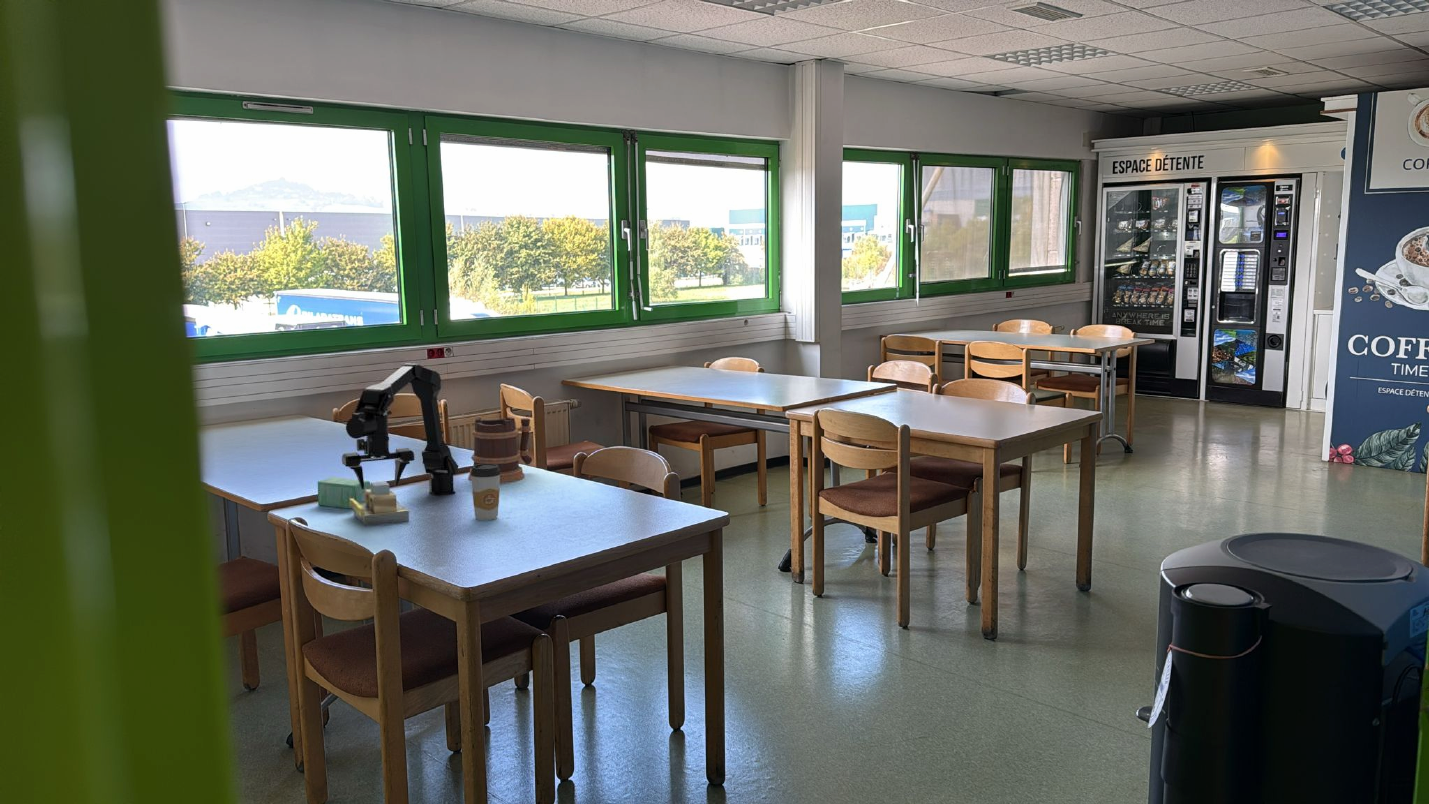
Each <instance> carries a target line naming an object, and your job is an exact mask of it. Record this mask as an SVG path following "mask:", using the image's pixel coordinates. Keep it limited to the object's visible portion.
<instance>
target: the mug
mask: <svg viewBox="0 0 1429 804" xmlns="http://www.w3.org/2000/svg"><path fill="white" fill-rule="evenodd" d="M474 420H475V421H474V430H472V432H471V433H472V436H473V437H474V443H473V445H474V446H473V447H474V448H473V454H471V460H472V461H473V466H474V465H477V464H497V465H498V466H499V469H500V473H501V474H500V482H499V484H506V483H507V484H508V483H514V482H517V481H521V480H523V479H525V474H524V472H523V471H524V469H523V467H522V466H520V465H519V464H520V463H519V460H520V458H521V460H522V462H524V464H526V466H528V465H530V464H531V463H532V461H533V458H532V456H530V454H529V450H528V445H529V444H528V442H529V437H530V432H531V431H532V430H531V429H532V426H531V425H530V423H531V420H530V418H527V417H526V418H524V417H523V418H521V419H520V424H521V425H520V426H519V427H516V425H517V424H516V419H515V418H514V417H511V416H507V417H505V418H498V419H482V418H481V417H475V419H474ZM519 432H521V435H520V442H519V450H518V440H517V439H518V437H517V436H518V435H519ZM471 470H472V468H470V469H469V475H468V477H467V480H468V481H470V482H472V479H471V475H470V474H471Z"/></svg>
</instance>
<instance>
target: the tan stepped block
mask: <svg viewBox="0 0 1429 804" xmlns="http://www.w3.org/2000/svg"><path fill="white" fill-rule="evenodd" d="M396 500H397V494H396V493H394V492H393V491H392V490H390V493H387V494H378V495H375V494H373V493H372V492H371V489H365V505H366V506H369V509H371V510H373V512H374V513H382V512H391V511H397V506H396Z"/></svg>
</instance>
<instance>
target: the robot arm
mask: <svg viewBox="0 0 1429 804" xmlns="http://www.w3.org/2000/svg"><path fill="white" fill-rule="evenodd" d="M441 379H442V377H441V374H440V373H439V372H438V371H436V370H431V369H429V368H426V367H424V366H423V365H420V364H418V363H409V362H408V363H407V362H405V363H402V364H401V366H400V368H398V369H397V370H396V371H395V372H393V373H392V374H390V376H388V377H387V378H385V380H383V381H382V382H380V383H375V384H372V385H370V386H368V387H365V388H364V389H363V390H362V393H361V395H360V397H359V399H358V403H357V405H356V408H355V411H354V413H352V414H351V418H350V419H348V420H347V422H346V425H345V430H346V434H347V435H348V437H350V438H352V439H356V451H358V452H360V451H361V452H363V455H361V454H359V453H358V452H349V453H348V452H347V453H343V454H342V456H341V464H342V465H344V466H345V467H347V468H349V469H350V470H353V472H354V473H355V475H356V478H357V480H358V481H359V483H360V486H361V488H362V489H364V481H365V480H364V471H363V466H362V465H361V463H364V462H365V463H366V462H376V461H387V460H394V465H395V467H394V486H396V487H398V485H399V482H400V479H401V477H402V475H403V472H404V470H405V468H406V466H407V465H410V463H411V462H412V461H413V462H414V461H415V452H414V451H413V450H412V449H411V448H409V447H403V448H396V449H395V452H390V449H389V448H390V447H389V446H390V445H389V441H390V436H389V419H388V418H389V416H390V415H392V413H393V412H392V411H391V409H389V407H390V406H391V405H392V403H393V402H395V395H396V394H398V393H399V392H400V391H401V390H402V389H403V388H405V387H407V385H408V384H410V385H411V387H412V391H413V394H414V395H415V396H416V397H417V398H418V399H419V402H420V407H421V414H422V419H423V420H422V421H423V428H424V433H425V439H426V440H425V441H426V445H425V448H424V450H422V451H421V457H422V465H423V466H424V470H425V474H430V477H429V478H428V486H429V487H428V488H429V491H428V492H430V493H431V494H433V495H434V496H439V495H441V496H442V495H449V494H450V495H451V494H456V491H455V490H454V476H455V475H457V473H458V471H459V465H458V463H457V462H456V461H455V459H454V458H453V455H452V452H451V448H450V447H449V446H448V445H447V444H446V442H445V441H444V436H443V430H442V423H441V417H440V410H439V403H438V395H439V393H440V392H441V389H442V386H441V385H442V384H441V382H442V380H441ZM365 437H366V439H364V438H365Z"/></svg>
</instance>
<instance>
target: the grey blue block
mask: <svg viewBox="0 0 1429 804" xmlns="http://www.w3.org/2000/svg"><path fill="white" fill-rule="evenodd" d="M370 488H371V492H372V493H373V494H375V495H378V494H387V493H390V491H391V489H390V484H389V483H388V482H387V481H385V480H381V481H372V482H370Z"/></svg>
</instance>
